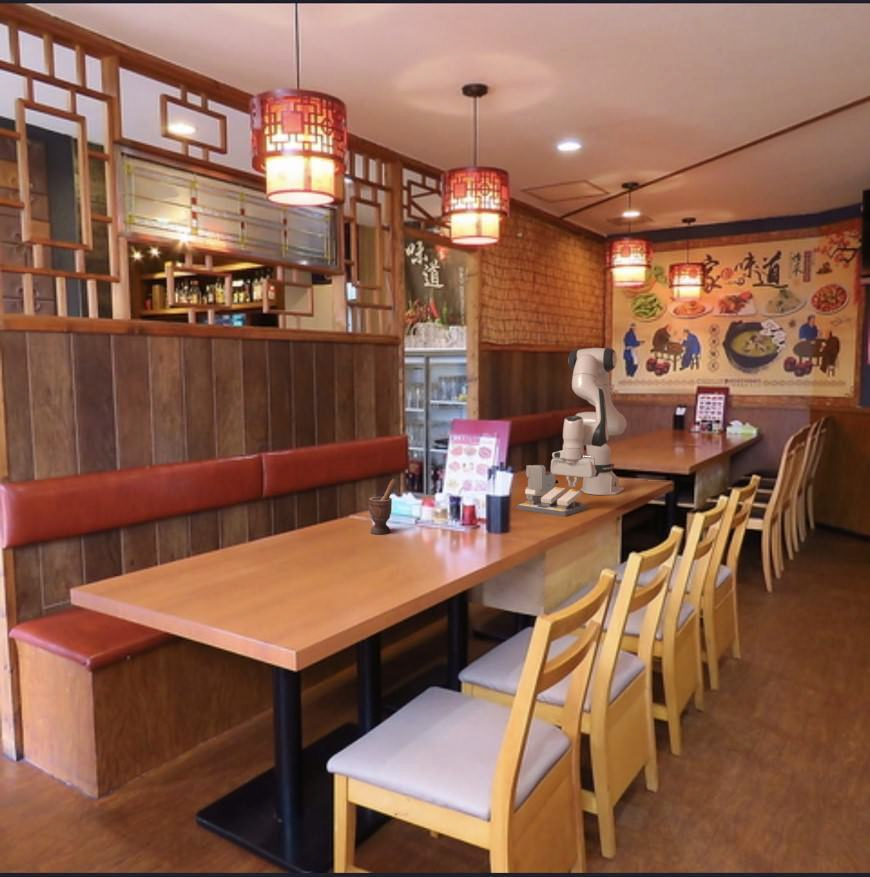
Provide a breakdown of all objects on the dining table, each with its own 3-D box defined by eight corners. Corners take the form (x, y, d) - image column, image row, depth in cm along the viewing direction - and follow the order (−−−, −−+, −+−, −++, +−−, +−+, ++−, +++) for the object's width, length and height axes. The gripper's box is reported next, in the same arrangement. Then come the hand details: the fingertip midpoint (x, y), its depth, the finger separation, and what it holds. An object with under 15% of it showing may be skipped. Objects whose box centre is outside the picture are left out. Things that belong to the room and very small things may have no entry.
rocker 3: (571, 493, 318) (570, 488, 318) (581, 494, 315) (581, 490, 315) (557, 504, 310) (556, 499, 309) (567, 506, 307) (567, 501, 306)
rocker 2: (555, 491, 324) (554, 486, 323) (565, 492, 320) (564, 488, 320) (541, 502, 315) (540, 497, 315) (551, 503, 312) (550, 499, 311)
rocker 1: (539, 496, 329) (540, 491, 329) (549, 497, 326) (549, 492, 326) (525, 493, 320) (525, 488, 320) (534, 494, 316) (535, 489, 317)
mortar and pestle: (384, 527, 288) (383, 476, 286) (401, 529, 283) (400, 478, 281) (365, 533, 278) (363, 481, 276) (382, 536, 273) (381, 483, 271)
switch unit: (539, 502, 332) (539, 492, 332) (586, 509, 316) (587, 498, 316) (517, 509, 318) (517, 498, 318) (565, 516, 303) (565, 505, 302)
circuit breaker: (558, 499, 339) (558, 467, 337) (527, 499, 339) (527, 467, 338) (556, 496, 346) (556, 465, 345) (526, 496, 347) (526, 465, 345)
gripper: (598, 455, 308) (598, 488, 309) (556, 451, 321) (556, 483, 323) (591, 456, 303) (590, 489, 305) (548, 453, 317) (548, 484, 318)
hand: (572, 486), depth 314 cm, fingers closed
